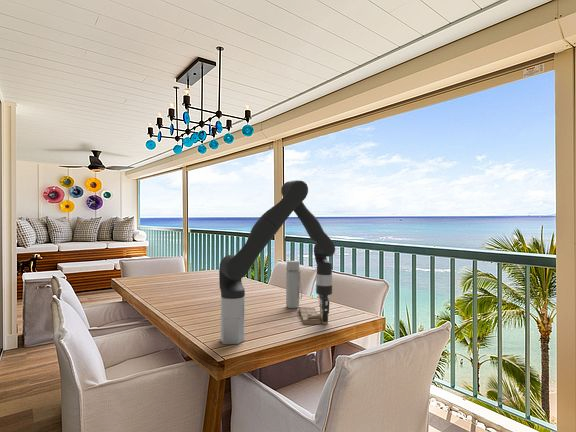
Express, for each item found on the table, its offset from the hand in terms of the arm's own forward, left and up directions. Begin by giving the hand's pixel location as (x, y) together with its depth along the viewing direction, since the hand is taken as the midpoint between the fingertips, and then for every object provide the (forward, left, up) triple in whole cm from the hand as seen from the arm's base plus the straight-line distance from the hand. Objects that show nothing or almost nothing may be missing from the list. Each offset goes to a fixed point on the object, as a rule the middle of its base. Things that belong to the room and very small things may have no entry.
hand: (323, 319), depth 152 cm
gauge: (0, +3, -1) cm, 3 cm away
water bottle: (+26, +12, -1) cm, 29 cm away
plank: (+8, +6, -1) cm, 10 cm away
